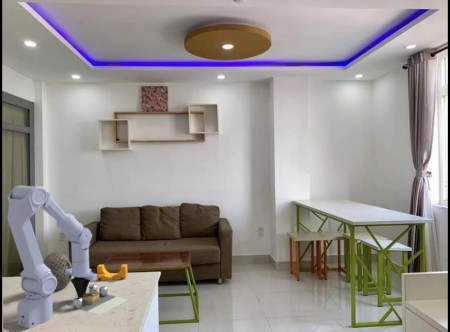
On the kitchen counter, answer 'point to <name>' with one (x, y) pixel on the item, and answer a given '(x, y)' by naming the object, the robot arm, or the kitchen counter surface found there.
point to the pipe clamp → (108, 276)
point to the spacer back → (93, 288)
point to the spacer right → (103, 291)
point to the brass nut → (91, 298)
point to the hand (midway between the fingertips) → (81, 296)
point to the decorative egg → (59, 268)
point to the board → (100, 304)
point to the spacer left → (77, 303)
